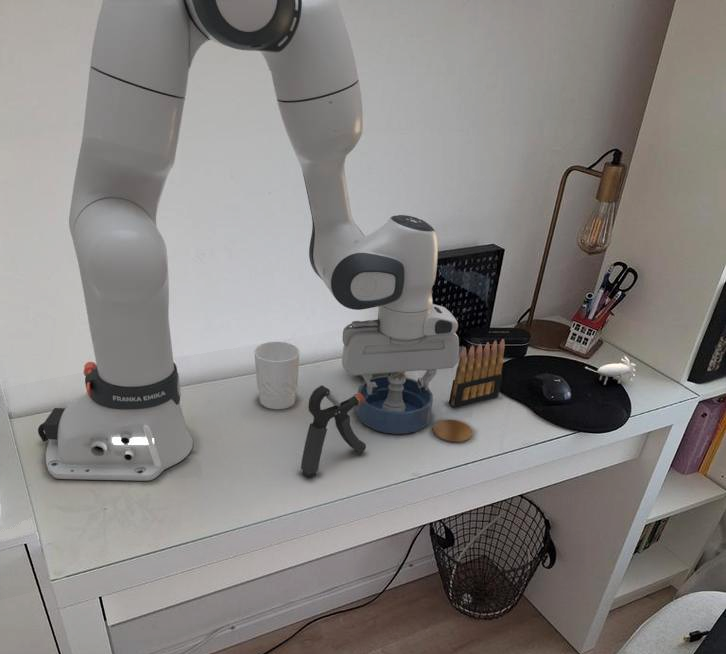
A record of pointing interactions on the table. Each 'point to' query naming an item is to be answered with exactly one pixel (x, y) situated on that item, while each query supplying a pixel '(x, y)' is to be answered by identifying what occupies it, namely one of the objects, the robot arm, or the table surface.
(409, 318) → the robot arm
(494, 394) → the ammunition clip
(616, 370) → the white animal figurine
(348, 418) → the hand grip strengthener
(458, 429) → the coaster
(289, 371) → the white cup
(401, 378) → the rook chess piece
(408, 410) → the bowl
